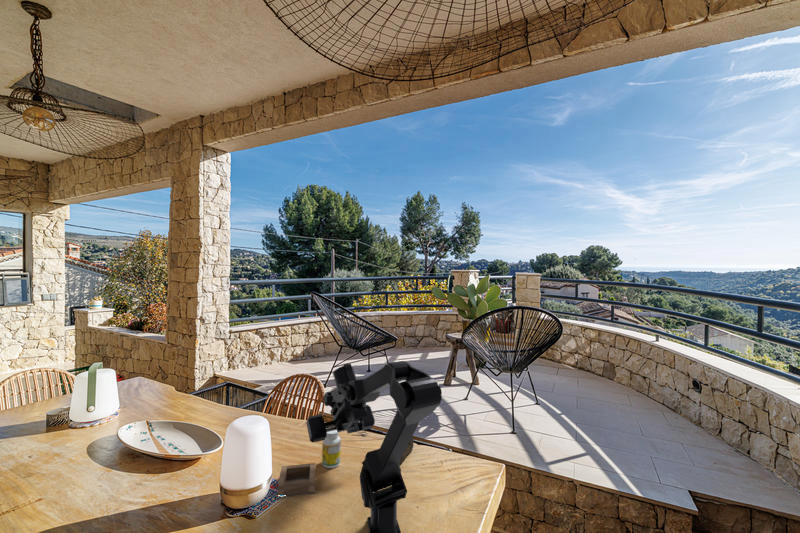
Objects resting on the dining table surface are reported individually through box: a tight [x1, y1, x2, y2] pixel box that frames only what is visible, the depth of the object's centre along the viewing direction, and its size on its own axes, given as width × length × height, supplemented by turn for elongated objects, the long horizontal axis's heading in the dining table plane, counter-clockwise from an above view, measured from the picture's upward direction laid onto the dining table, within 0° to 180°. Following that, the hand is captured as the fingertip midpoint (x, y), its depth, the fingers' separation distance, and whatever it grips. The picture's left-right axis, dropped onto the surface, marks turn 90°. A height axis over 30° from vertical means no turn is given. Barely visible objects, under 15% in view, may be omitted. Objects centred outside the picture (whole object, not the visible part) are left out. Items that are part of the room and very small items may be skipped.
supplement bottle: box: [321, 430, 342, 469], centre depth 102 cm, size 5×5×10 cm
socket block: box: [276, 462, 316, 498], centre depth 91 cm, size 9×9×3 cm
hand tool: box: [399, 435, 415, 466], centre depth 105 cm, size 19×4×5 cm, turn 154°
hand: (333, 435), depth 101 cm, fingers open, 9 cm apart
